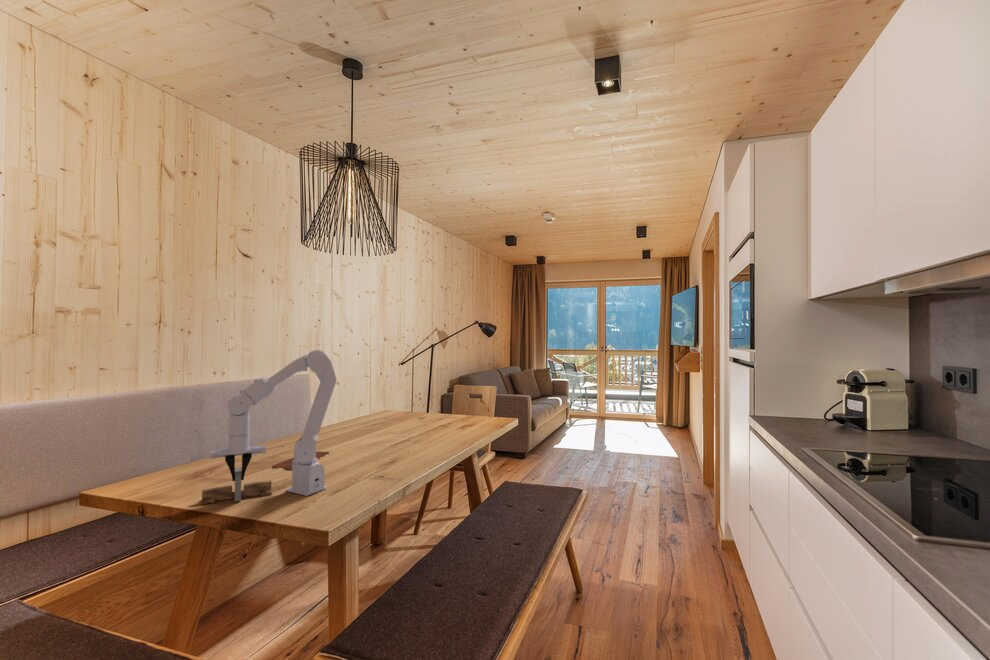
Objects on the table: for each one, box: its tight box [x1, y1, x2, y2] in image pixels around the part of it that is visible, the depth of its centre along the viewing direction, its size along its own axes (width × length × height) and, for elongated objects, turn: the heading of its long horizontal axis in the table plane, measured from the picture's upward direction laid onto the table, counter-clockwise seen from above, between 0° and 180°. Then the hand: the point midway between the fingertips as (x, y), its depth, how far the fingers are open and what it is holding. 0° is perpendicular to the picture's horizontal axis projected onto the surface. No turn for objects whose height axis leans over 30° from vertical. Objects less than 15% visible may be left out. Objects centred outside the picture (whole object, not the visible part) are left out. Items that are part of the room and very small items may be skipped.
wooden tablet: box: [271, 451, 330, 471], centre depth 177 cm, size 27×10×2 cm, turn 165°
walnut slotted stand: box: [201, 479, 273, 505], centre depth 136 cm, size 18×5×4 cm, turn 119°
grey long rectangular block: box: [234, 467, 242, 502], centre depth 136 cm, size 10×2×7 cm, turn 29°
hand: (238, 479), depth 136 cm, fingers closed on grey long rectangular block, 2 cm apart
